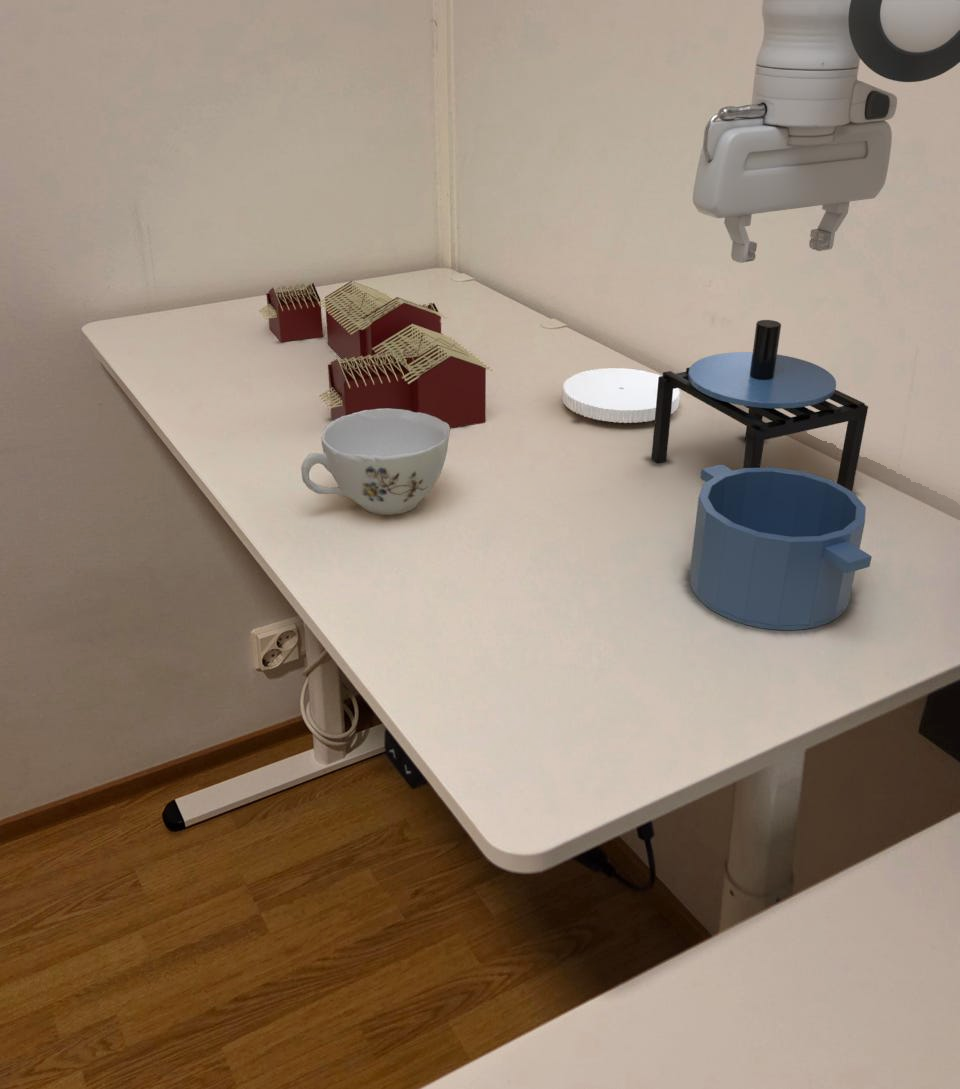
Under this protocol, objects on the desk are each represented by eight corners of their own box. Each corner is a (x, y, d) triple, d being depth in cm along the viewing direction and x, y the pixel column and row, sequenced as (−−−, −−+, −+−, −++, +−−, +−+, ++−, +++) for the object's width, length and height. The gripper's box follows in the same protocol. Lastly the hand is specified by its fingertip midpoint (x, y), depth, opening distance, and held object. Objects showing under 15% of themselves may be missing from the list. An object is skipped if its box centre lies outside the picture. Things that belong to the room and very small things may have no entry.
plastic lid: (579, 435, 126) (580, 414, 125) (549, 391, 138) (550, 371, 137) (695, 426, 129) (697, 405, 128) (655, 383, 141) (657, 364, 140)
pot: (759, 525, 107) (771, 445, 103) (905, 622, 93) (926, 533, 88) (643, 556, 102) (650, 473, 98) (778, 663, 87) (793, 571, 83)
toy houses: (506, 418, 130) (508, 335, 125) (339, 446, 123) (334, 359, 118) (381, 312, 166) (379, 244, 161) (247, 329, 159) (239, 259, 154)
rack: (752, 436, 126) (764, 353, 121) (852, 493, 114) (869, 402, 109) (651, 459, 121) (658, 372, 116) (743, 521, 108) (756, 426, 103)
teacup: (423, 467, 119) (421, 397, 115) (471, 517, 109) (471, 442, 105) (287, 493, 113) (280, 421, 109) (324, 547, 103) (318, 470, 99)
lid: (770, 354, 121) (778, 294, 118) (865, 399, 109) (878, 334, 106) (659, 375, 115) (665, 312, 112) (748, 424, 104) (757, 356, 100)
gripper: (730, 112, 92) (714, 276, 99) (912, 97, 100) (885, 250, 107) (686, 103, 97) (673, 260, 104) (862, 89, 105) (839, 236, 112)
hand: (782, 255), depth 105 cm, fingers open, 8 cm apart
